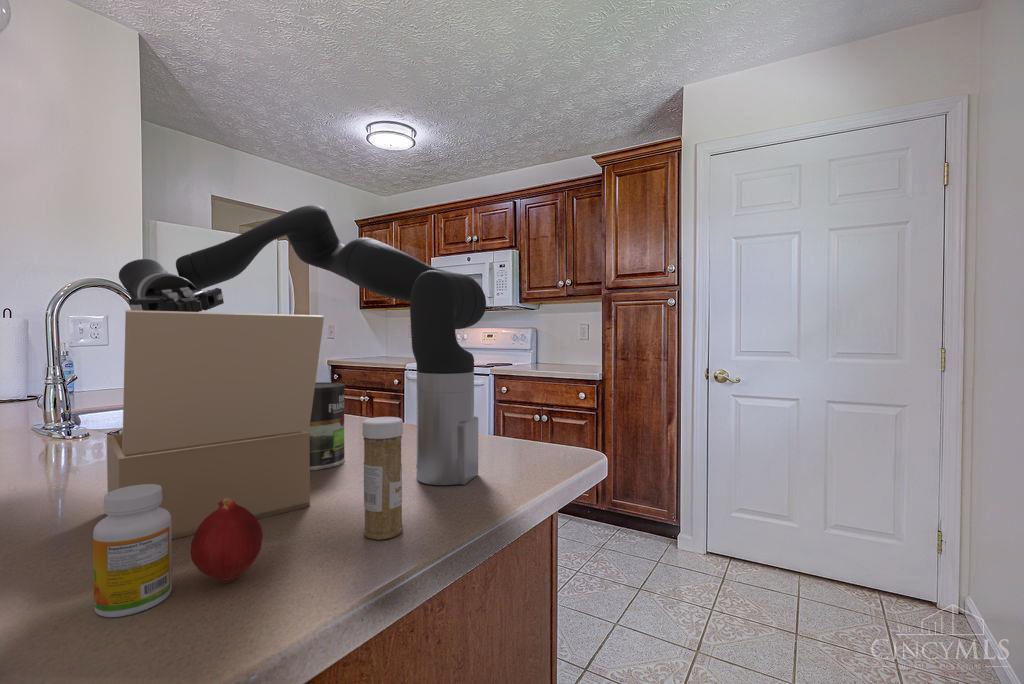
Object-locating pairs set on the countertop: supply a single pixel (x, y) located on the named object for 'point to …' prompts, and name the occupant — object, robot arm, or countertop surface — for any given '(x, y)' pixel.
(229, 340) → the carton flap
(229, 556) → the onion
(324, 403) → the coffee can
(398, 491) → the sprinkles bottle
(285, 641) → the countertop surface
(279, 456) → the carton
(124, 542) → the supplement bottle
